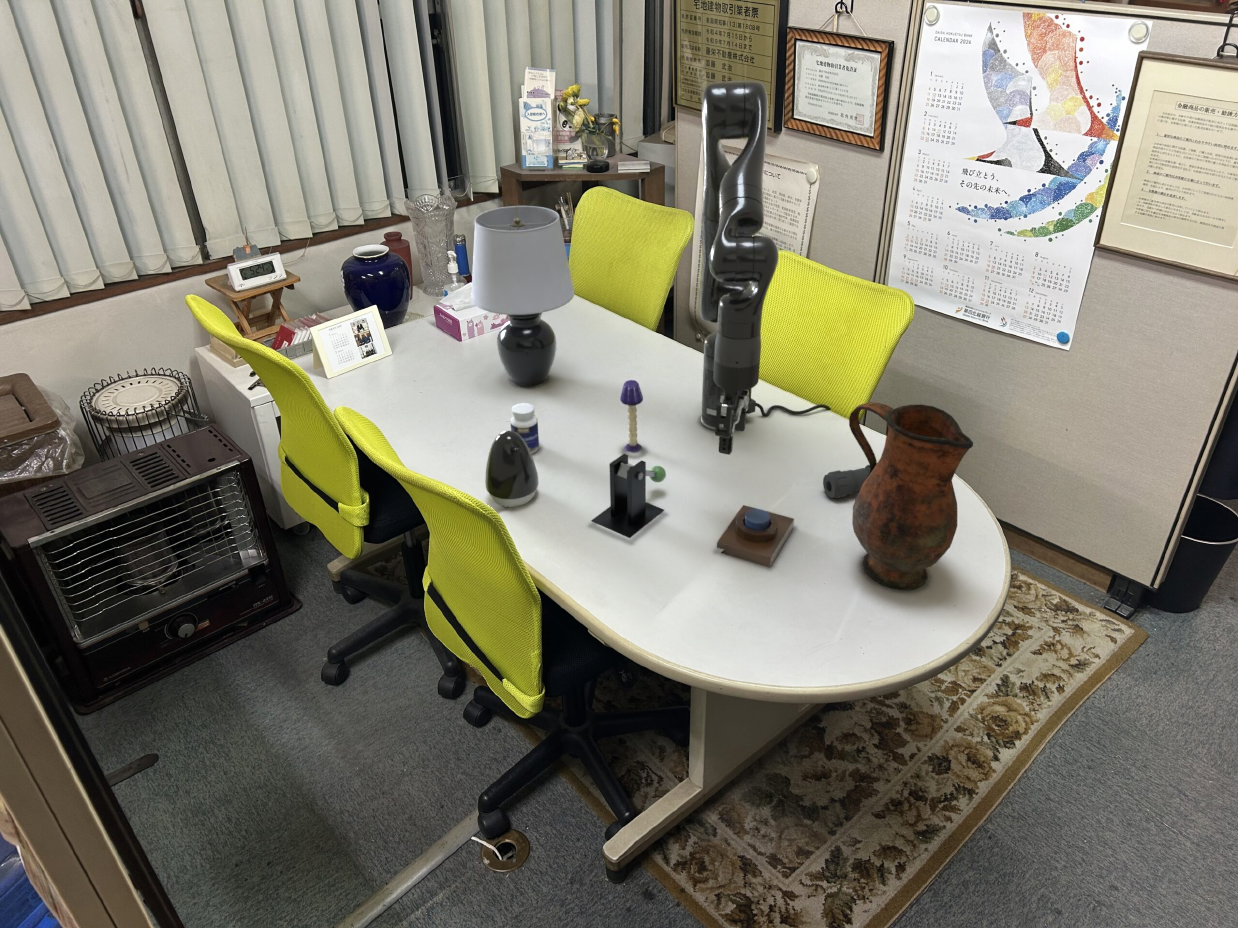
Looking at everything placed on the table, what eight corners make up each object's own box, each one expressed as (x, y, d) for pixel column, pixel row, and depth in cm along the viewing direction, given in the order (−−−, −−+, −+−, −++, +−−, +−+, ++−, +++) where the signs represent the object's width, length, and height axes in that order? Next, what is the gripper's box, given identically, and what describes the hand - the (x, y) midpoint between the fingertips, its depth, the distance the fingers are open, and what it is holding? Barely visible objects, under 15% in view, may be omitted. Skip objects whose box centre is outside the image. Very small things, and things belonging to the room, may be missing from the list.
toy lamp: (640, 459, 186) (640, 388, 177) (619, 457, 187) (617, 386, 178) (644, 448, 190) (645, 378, 181) (623, 446, 191) (622, 376, 182)
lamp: (596, 371, 221) (591, 212, 200) (539, 411, 204) (527, 241, 183) (520, 351, 232) (508, 197, 211) (460, 387, 215) (440, 224, 194)
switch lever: (652, 479, 173) (657, 464, 173) (665, 484, 172) (670, 469, 171) (614, 476, 162) (619, 459, 161) (628, 481, 160) (633, 465, 160)
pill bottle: (520, 458, 187) (516, 417, 182) (508, 446, 191) (504, 406, 186) (544, 450, 189) (541, 409, 184) (531, 439, 194) (528, 398, 188)
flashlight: (832, 505, 171) (835, 481, 168) (819, 490, 175) (821, 467, 172) (902, 490, 175) (906, 467, 172) (887, 476, 179) (891, 453, 176)
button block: (742, 514, 169) (743, 496, 167) (793, 528, 165) (795, 510, 163) (716, 551, 159) (717, 533, 157) (769, 567, 155) (771, 549, 153)
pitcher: (910, 616, 144) (943, 459, 128) (805, 556, 157) (824, 407, 142) (965, 573, 153) (1002, 421, 137) (861, 519, 167) (884, 376, 151)
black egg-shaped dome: (499, 521, 168) (491, 452, 160) (480, 493, 176) (472, 427, 168) (548, 506, 172) (543, 438, 164) (527, 480, 180) (522, 414, 172)
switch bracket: (626, 498, 174) (626, 442, 167) (664, 514, 169) (665, 457, 162) (591, 525, 166) (589, 467, 159) (629, 542, 162) (629, 484, 155)
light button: (749, 514, 162) (750, 506, 161) (772, 520, 161) (773, 512, 160) (741, 527, 159) (741, 519, 158) (764, 533, 157) (765, 525, 156)
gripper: (748, 377, 139) (742, 465, 148) (769, 342, 151) (762, 426, 159) (702, 370, 142) (699, 457, 150) (727, 336, 153) (722, 419, 162)
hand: (731, 441), depth 155 cm, fingers open, 8 cm apart
